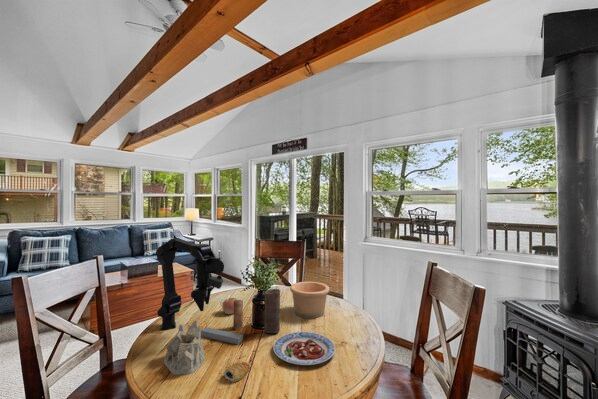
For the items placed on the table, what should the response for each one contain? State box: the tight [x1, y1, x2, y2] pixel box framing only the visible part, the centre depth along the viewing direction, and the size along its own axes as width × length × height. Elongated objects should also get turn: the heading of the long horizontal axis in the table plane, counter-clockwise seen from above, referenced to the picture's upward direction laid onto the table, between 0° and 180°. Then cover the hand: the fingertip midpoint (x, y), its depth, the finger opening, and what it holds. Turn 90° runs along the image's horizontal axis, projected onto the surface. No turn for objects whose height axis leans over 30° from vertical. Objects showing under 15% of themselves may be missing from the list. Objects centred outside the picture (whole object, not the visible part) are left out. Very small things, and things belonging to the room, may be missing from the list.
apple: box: [221, 297, 238, 315], centre depth 154 cm, size 9×9×8 cm
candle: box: [263, 288, 281, 334], centre depth 132 cm, size 8×7×20 cm
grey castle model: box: [163, 318, 206, 376], centre depth 106 cm, size 16×16×15 cm
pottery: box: [289, 281, 330, 320], centre depth 156 cm, size 22×22×14 cm
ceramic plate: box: [272, 331, 336, 366], centre depth 116 cm, size 26×26×3 cm
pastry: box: [223, 361, 251, 382], centre depth 100 cm, size 9×7×4 cm
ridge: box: [200, 327, 244, 345], centre depth 125 cm, size 20×4×2 cm, turn 69°
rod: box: [232, 299, 244, 331], centre depth 136 cm, size 4×4×13 cm
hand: (204, 307), depth 125 cm, fingers open, 9 cm apart
